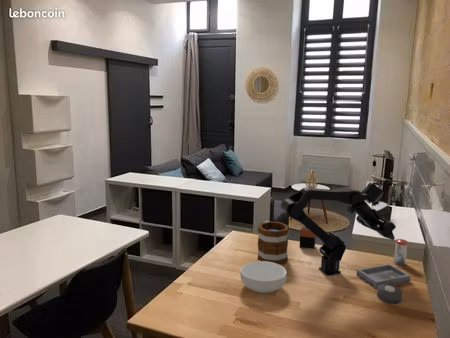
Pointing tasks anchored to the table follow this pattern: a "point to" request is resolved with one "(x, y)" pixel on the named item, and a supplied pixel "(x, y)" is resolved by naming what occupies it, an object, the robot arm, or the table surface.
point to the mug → (273, 242)
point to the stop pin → (400, 252)
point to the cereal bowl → (263, 276)
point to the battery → (307, 238)
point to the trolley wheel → (389, 293)
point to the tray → (383, 275)
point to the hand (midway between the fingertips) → (386, 235)
